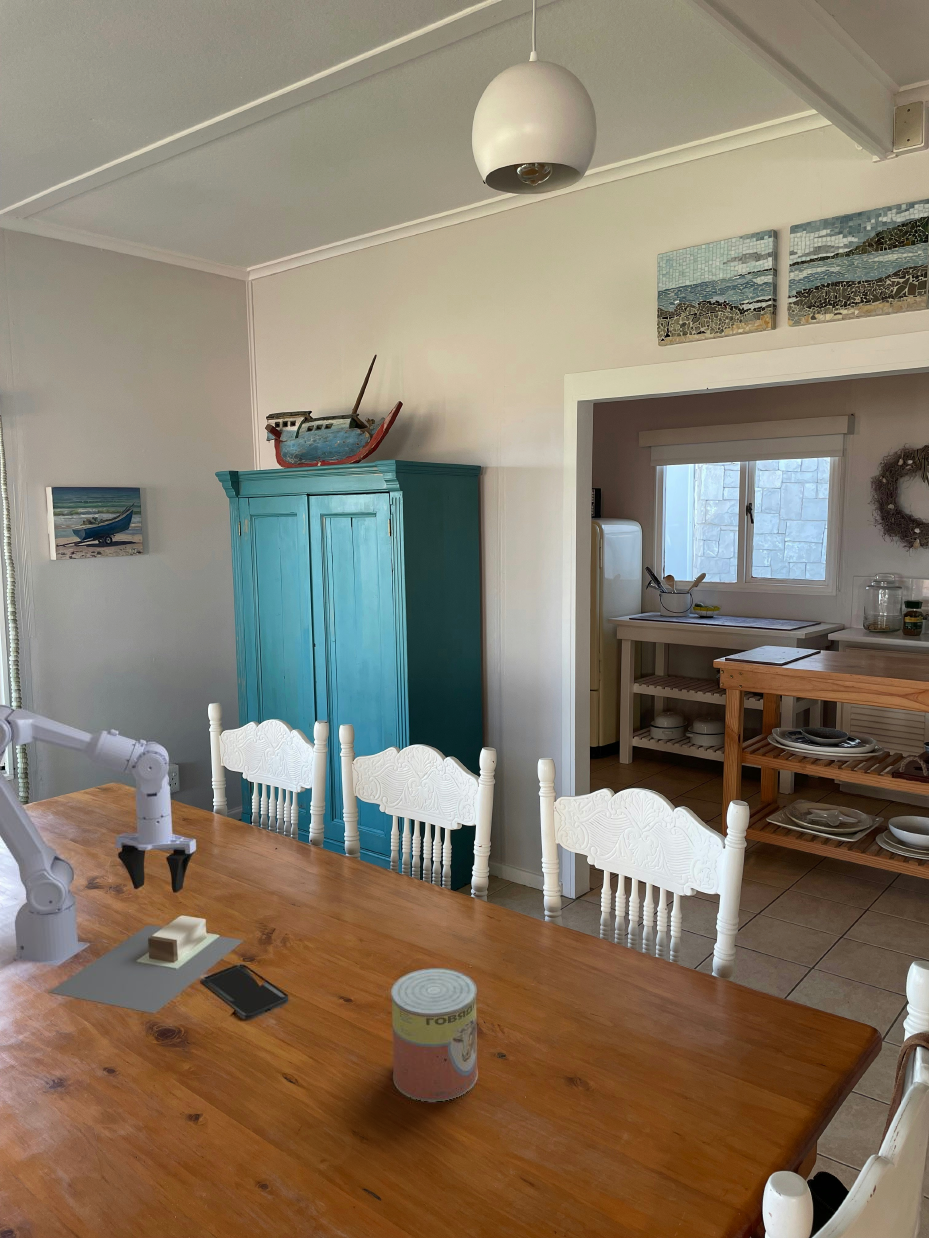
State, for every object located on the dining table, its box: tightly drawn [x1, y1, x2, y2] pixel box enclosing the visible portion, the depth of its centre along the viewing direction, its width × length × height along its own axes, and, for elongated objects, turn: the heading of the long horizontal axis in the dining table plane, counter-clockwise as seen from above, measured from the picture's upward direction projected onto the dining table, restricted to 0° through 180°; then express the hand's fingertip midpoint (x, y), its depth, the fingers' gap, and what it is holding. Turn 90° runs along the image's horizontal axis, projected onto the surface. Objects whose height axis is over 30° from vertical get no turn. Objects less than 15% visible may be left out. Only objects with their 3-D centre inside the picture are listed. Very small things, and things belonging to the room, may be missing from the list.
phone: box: [200, 963, 290, 1021], centre depth 139 cm, size 8×1×15 cm
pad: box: [136, 932, 220, 969], centre depth 153 cm, size 12×8×1 cm, turn 161°
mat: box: [48, 924, 244, 1014], centre depth 147 cm, size 20×24×1 cm
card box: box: [148, 915, 207, 963], centre depth 152 cm, size 9×5×4 cm, turn 161°
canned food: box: [390, 967, 479, 1103], centre depth 118 cm, size 11×11×12 cm
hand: (158, 888), depth 156 cm, fingers open, 7 cm apart
